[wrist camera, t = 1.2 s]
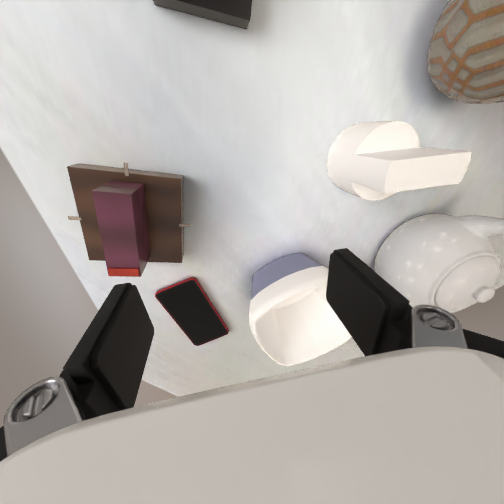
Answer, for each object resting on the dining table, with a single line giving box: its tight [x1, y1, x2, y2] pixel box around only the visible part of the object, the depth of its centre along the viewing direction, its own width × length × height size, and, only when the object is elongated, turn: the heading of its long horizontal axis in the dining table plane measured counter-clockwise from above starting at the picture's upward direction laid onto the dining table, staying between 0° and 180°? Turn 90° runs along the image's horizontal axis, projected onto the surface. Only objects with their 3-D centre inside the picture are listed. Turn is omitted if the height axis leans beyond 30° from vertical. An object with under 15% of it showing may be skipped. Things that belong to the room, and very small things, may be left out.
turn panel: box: [67, 163, 190, 263], centre depth 29 cm, size 14×14×3 cm
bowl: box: [249, 253, 352, 366], centre depth 36 cm, size 15×15×11 cm
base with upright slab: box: [327, 121, 472, 201], centre depth 27 cm, size 9×9×12 cm
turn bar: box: [92, 180, 150, 277], centre depth 26 cm, size 10×4×5 cm, turn 172°
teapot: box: [374, 214, 504, 313], centre depth 37 cm, size 19×18×14 cm
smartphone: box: [155, 278, 229, 346], centre depth 40 cm, size 7×1×15 cm
